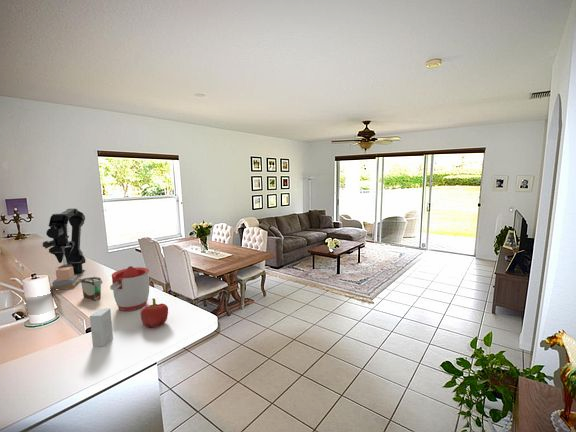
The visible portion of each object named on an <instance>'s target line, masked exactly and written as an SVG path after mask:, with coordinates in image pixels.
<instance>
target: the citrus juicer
mask: <svg viewBox="0 0 576 432" xmlns="http://www.w3.org/2000/svg"><path fill="white" fill-rule="evenodd" d="M149 272H150V269H149V268H146V267H141V266H140V267H139V266H138V267H134V266H131V265H130V266H128V267H127V268H123V269H121V270H117V271H114V272H113V273H112V274H111V280H112V281H111V282H112V284H111V285H110V290H111V291H112V293H113V298H114V302H115V303H116V306H117V308H118V309H119V310H121V311H125V312H126V311H130V310H132V311H134V310H138V309H141V308H144V307H145V306H146V305H147V303H148V300H149V297H150V296H149V295H150V277H149Z"/></svg>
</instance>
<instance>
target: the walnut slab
mask: <svg viewBox="0 0 576 432" xmlns="http://www.w3.org/2000/svg"><path fill="white" fill-rule="evenodd" d="M81 279H82V278H77V280H76V281H75V282H74V283H73V284H72V285H64V286H56V287H53V285H51V286H50V287H51V291H57V290H56V289H61V290H69V289H75V288H76V287H77V286H78V285H79V284H81Z"/></svg>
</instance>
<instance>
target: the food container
mask: <svg viewBox="0 0 576 432" xmlns="http://www.w3.org/2000/svg"><path fill="white" fill-rule="evenodd" d="M80 279H81V282H80V284H81V289H82V296H83V298H84V299H86V300H89V301H93V302H97V301H99V300H100V299H101V298H102V297H101V295H102V284H103V279H102V278H101V277H99V276H92V277H84V278H80Z"/></svg>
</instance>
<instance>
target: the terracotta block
mask: <svg viewBox="0 0 576 432" xmlns="http://www.w3.org/2000/svg"><path fill="white" fill-rule="evenodd" d="M55 276H56V277H55V278H56V279H57V281H63V280H70V279H71V278H73V277H74V276H75V274H74V270H73V267H71V266H65V267H64V266H63V267H59V268H58V269H56V270H55Z"/></svg>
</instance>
